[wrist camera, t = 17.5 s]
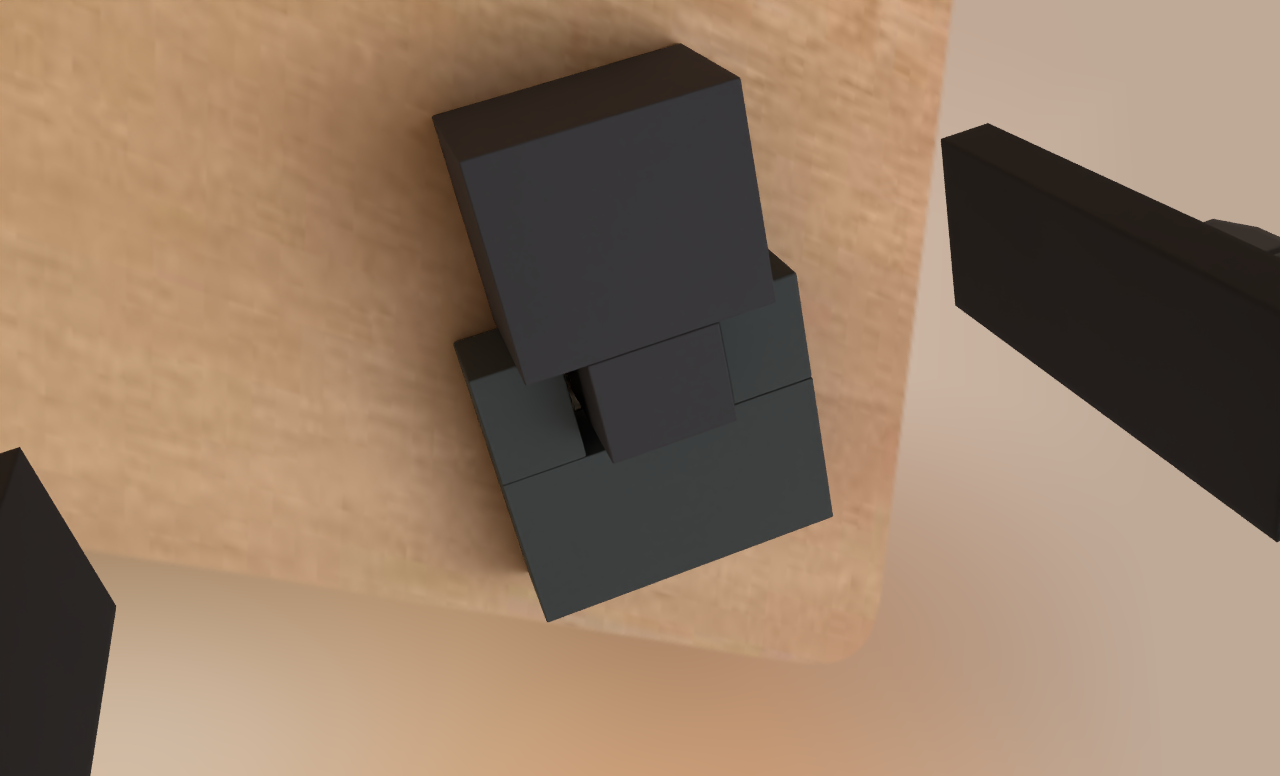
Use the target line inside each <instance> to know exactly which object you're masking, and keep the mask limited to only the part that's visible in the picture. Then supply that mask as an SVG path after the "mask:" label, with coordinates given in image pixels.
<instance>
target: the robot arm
mask: <svg viewBox="0 0 1280 776" xmlns="http://www.w3.org/2000/svg"><path fill="white" fill-rule="evenodd" d="M941 147H942V157H943V170H944V181H945V193H946V204H947V216H948V227H949V238H950V250H951V261H952V273H953V282H954V283H953V284H954V295H955V305H956V306H957V307H958V308H960V309H961V310H963V311H964V312H965V313H966V314H968V315H969V316H971V317H972V318H973V319H975V320H976V321H977V322H979V323H980V324H982V325H983V326H984V327H986V328H987V329H988V330H990V331H991V332H992V333H994V334H995V335H996V336H998V337H999V338H1000V339H1002V340H1003V341H1004V342H1006V343H1007V344H1009V345H1010V346H1011V347H1013V348H1014V349H1015V350H1017V351H1018V352H1019V353H1021V354H1022V355H1023V356H1025V357H1026V358H1028V359H1029V360H1030V361H1032V362H1033V363H1034V364H1036V365H1037V366H1038V367H1040V368H1041V369H1043V370H1044V371H1045V372H1047V373H1048V374H1049V375H1051V376H1052V377H1053V378H1055V379H1056V380H1057V381H1059V382H1060V383H1061V384H1063V385H1064V386H1066V387H1067V388H1068V389H1070V390H1071V391H1072V392H1074V393H1075V394H1076V395H1078V396H1079V397H1080V398H1082V399H1083V400H1084V401H1086V402H1087V403H1089V404H1090V405H1091V406H1093V407H1094V408H1096V409H1097V410H1098V411H1100V412H1101V413H1102V414H1103V415H1105V416H1106V417H1108V418H1109V419H1110V420H1112V421H1113V422H1114V423H1116V424H1117V425H1119V426H1120V427H1121V428H1123V429H1124V430H1125V431H1127V432H1128V433H1129V434H1131V435H1132V436H1133V437H1135V438H1136V439H1137V440H1139V441H1140V442H1142V443H1143V444H1144V445H1146V446H1147V447H1148V448H1150V449H1151V450H1152V451H1154V452H1155V453H1156V454H1158V455H1159V456H1160V457H1162V458H1163V459H1165V460H1166V461H1167V462H1169V463H1170V464H1171V465H1173V466H1174V467H1175V468H1177V469H1178V470H1179V471H1181V472H1182V473H1184V474H1185V475H1186V476H1188V477H1189V478H1190V479H1192V480H1193V481H1194V482H1196V483H1197V484H1199V485H1200V486H1201V487H1203V488H1204V489H1205V490H1207V491H1208V492H1209V493H1211V494H1212V495H1214V496H1215V497H1216V498H1218V499H1219V500H1220V501H1222V502H1223V503H1224V504H1226V505H1227V506H1228V507H1230V508H1231V509H1232V510H1234V511H1235V512H1236V513H1238V514H1239V515H1241V516H1242V517H1243V518H1245V519H1246V520H1247V521H1249V522H1250V523H1252V524H1253V525H1254V526H1255V527H1257V528H1258V529H1260V530H1261V531H1262V532H1264V533H1265V534H1267V535H1268V536H1269V537H1270V538H1272V539H1273V540H1275V541H1276V542H1279V541H1280V237H1279V236H1276V235H1274V234H1272V233H1270V232H1267V231H1265V230H1263V229H1261V228H1258V227H1254V226H1248V225H1243V224H1237V223H1232V222H1227V221H1221V220H1216V219H1211V220H1209V221H1206V222H1202V221H1199V220H1197V219H1195V218H1193V217H1190V216H1188V215H1186V214H1184V213H1182V212H1180V211H1178V210H1175V209H1173V208H1171V207H1169V206H1167V205H1165V204H1162V203H1160V202H1158V201H1156V200H1153V199H1152V198H1149V197H1147V196H1145V195H1143V194H1141V193H1138V192H1136V191H1134V190H1132V189H1130V188H1127V187H1125V186H1123V185H1121V184H1119V183H1117V182H1115V181H1113V180H1110V179H1108V178H1106V177H1104V176H1101V175H1099V174H1097V173H1095V172H1093V171H1091V170H1089V169H1086V168H1084V167H1082V166H1080V165H1078V164H1076V163H1073V162H1071V161H1069V160H1067V159H1065V158H1063V157H1060V156H1058V155H1056V154H1054V153H1051V152H1050V151H1047V150H1045V149H1043V148H1041V147H1039V146H1036V145H1034V144H1032V143H1030V142H1028V141H1026V140H1023V139H1021V138H1019V137H1017V136H1015V135H1013V134H1010V133H1008V132H1006V131H1004V130H1002V129H1000V128H997V127H995V126H993V125H991V124H989V123H987V124H984V125H981V126H978V127H975V128H972V129H969V130H966V131H963V132H961V133H957V134H954V135H951V136H948V137H945V138H942V139H941ZM115 611H116V605H115V603H114V602H113V600H112V598H111V597H110V595H109V594H108V592H107V590H106V589H105V587H104V585H103V584H102V582H101V580H100V579H99V577H98V575H97V574H96V572H95V570H94V569H93V567H92V565H91V564H90V562H89V560H88V559H87V557H86V556H85V554H84V552H83V551H82V549H81V547H80V546H79V544H78V542H77V541H76V539H75V537H74V536H73V534H72V532H71V531H70V529H69V527H68V526H67V524H66V522H65V521H64V519H63V517H62V516H61V514H60V513H59V511H58V509H57V508H56V506H55V504H54V503H53V501H52V499H51V498H50V496H49V494H48V493H47V491H46V489H45V488H44V486H43V484H42V483H41V481H40V480H39V478H38V476H37V475H36V473H35V471H34V470H33V468H32V466H31V465H30V463H29V461H28V460H27V458H26V456H25V455H24V453H23V451H22V450H21V448H20V447H18V448H15V449H12V450H9V451H6V452H3V453H0V776H90V774H91V767H92V761H93V755H94V748H95V742H96V735H97V729H98V721H99V715H100V709H101V702H102V696H103V690H104V683H105V676H106V670H107V663H108V657H109V650H110V644H111V637H112V631H113V624H114V618H115Z"/></svg>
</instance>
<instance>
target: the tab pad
mask: <svg viewBox="0 0 1280 776" xmlns="http://www.w3.org/2000/svg"><path fill="white" fill-rule="evenodd" d="M432 119H433V122H434V126H435V129H436V132H437V135H438V139H439V142H440V145H441V148H442V152H443V155H444V158H445V162H446V165H447V168H448V171H449V175H450V178H451V181H452V185H453V188H454V191H455V194H456V198H457V201H458V204H459V207H460V211H461V214H462V217H463V221H464V224H465V227H466V230H467V234H468V237H469V240H470V244H471V247H472V250H473V253H474V257H475V260H476V263H477V266H478V270H479V273H480V276H481V280H482V283H483V286H484V289H485V293H486V296H487V299H488V303H489V306H490V309H491V312H492V316H493V319H494V321H495V323H496V325H497V327H498V330H499V332H500V334H501V336H502V338H503V340H504V342H505V344H506V346H507V348H508V350H509V353H510V355H511V357H512V359H513V361H514V363H515V365H516V367H517V369H518V371H519V373H520V376H521V378H522V380H523V382H524V384H525V385H526V386H528V385H531V384H534V383H537V382H540V381H543V380H546V379H549V378H552V377H555V376H558V375H561V374H564V373H567V372H568V374H569V377H570V381H571V385H572V388H573V392H574V394H575V396H576V398H577V400H578V401H579V403H580V405H581V407H582V409H583V410H584V412H585V414H586V416H587V418H588V419H589V421H590V423H591V425H592V427H593V429H594V430H595V432H596V434H597V436H598V438H599V439H600V441H601V443H602V445H603V447H604V448H605V450H606V452H607V454H608V456H609V458H610V459H611V461H612V463H613V464H616V463H619V462H622V461H624V460H627V459H630V458H633V457H636V456H639V455H641V454H644V453H647V452H650V451H653V450H656V449H659V448H661V447H664V446H667V445H670V444H673V443H676V442H678V441H681V440H684V439H687V438H690V437H693V436H696V435H698V434H701V433H704V432H707V431H710V430H713V429H715V428H718V427H721V426H724V425H727V424H730V423H733V422H735V421H737V415H736V410H735V405H734V400H733V395H732V389H731V384H730V379H729V374H728V369H727V363H726V358H725V353H724V348H723V343H722V337H721V332H720V327H719V323H718V322H719V321H722V320H725V319H728V318H731V317H734V316H737V315H740V314H743V313H746V312H749V311H752V310H755V309H758V308H761V307H764V306H767V305H770V304H773V303H775V302H776V296H775V290H774V284H773V277H772V271H771V265H770V259H769V253H768V246H767V240H766V234H765V228H764V222H763V215H762V209H761V203H760V197H759V191H758V184H757V178H756V172H755V166H754V160H753V154H752V147H751V141H750V135H749V129H748V123H747V116H746V110H745V104H744V98H743V92H742V85H741V79H740V77H738V76H736V75H735V74H733V73H731V72H729V71H728V70H726V69H724V68H722V67H721V66H719V65H717V64H716V63H714V62H712V61H710V60H709V59H707V58H705V57H704V56H702V55H700V54H698V53H697V52H695V51H693V50H692V49H690V48H688V47H686V46H685V45H683V44H677V45H673V46H670V47H666V48H663V49H659V50H656V51H653V52H649V53H646V54H642V55H639V56H636V57H632V58H629V59H625V60H622V61H619V62H615V63H612V64H608V65H605V66H601V67H598V68H595V69H591V70H588V71H584V72H581V73H578V74H574V75H571V76H567V77H564V78H560V79H557V80H554V81H550V82H547V83H543V84H540V85H537V86H533V87H530V88H526V89H523V90H520V91H516V92H513V93H509V94H506V95H502V96H499V97H496V98H492V99H489V100H485V101H482V102H479V103H475V104H472V105H468V106H465V107H462V108H458V109H455V110H451V111H448V112H444V113H441V114H438V115H434V116H433V117H432Z"/></svg>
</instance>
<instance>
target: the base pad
mask: <svg viewBox="0 0 1280 776" xmlns="http://www.w3.org/2000/svg"><path fill="white" fill-rule="evenodd" d="M768 253H769V259H770V265H771V271H772V277H773V284H774V290H775V296H776V302H775V303H773V304H770V305H767V306H764V307H761V308H758V309H755V310H752V311H749V312H746V313H743V314H740V315H737V316H734V317H731V318H728V319H725V320H722V321H719V322H718V323H719V327H720V332H721V337H722V343H723V348H724V353H725V358H726V363H727V369H728V374H729V379H730V384H731V389H732V395H733V400H734V405H735V410H736V415H737V421H735V422H733V423H730V424H727V425H724V426H721V427H718V428H715V429H713V430H710V431H707V432H704V433H701V434H698V435H696V436H693V437H690V438H687V439H684V440H681V441H678V442H676V443H673V444H670V445H667V446H664V447H661V448H659V449H656V450H653V451H650V452H647V453H644V454H641V455H639V456H636V457H633V458H630V459H627V460H624V461H622V462H619V463H616V464H613V463H612V461H611V459H610V458H609V456H608V454H607V452H606V450H605V448H604V447H603V445H602V443H601V441H600V439H599V438H598V436H597V434H596V432H595V430H594V429H593V427H592V425H591V423H590V421H589V419H588V418H587V416H586V414H585V412H584V410H583V409H582V410H579V411H576V412H574V409H573V406H572V402H571V398H570V395H569V391H568V388H567V384H566V380H565V377H564V374H561V375H558V376H555V377H552V378H549V379H546V380H543V381H540V382H537V383H534V384H531V385H528V386H526V385H525V384H524V382H523V380H522V378H521V376H520V373H519V371H518V369H517V367H516V365H515V363H514V361H513V359H512V357H511V355H510V353H509V350H508V348H507V346H506V344H505V342H504V340H503V338H502V336H501V334H500V332H499V330H498V328H497V329H494V330H491V331H487V332H484V333H481V334H478V335H475V336H472V337H469V338H466V339H463V340H460V341H457V342H454V344H453V345H454V348H455V351H456V354H457V357H458V360H459V363H460V366H461V369H462V372H463V375H464V378H465V381H466V384H467V387H468V390H469V393H470V396H471V399H472V402H473V405H474V408H475V411H476V414H477V417H478V420H479V423H480V427H481V430H482V433H483V436H484V439H485V442H486V445H487V448H488V451H489V454H490V457H491V460H492V463H493V466H494V469H495V472H496V475H497V478H498V481H499V484H500V487H501V490H502V493H503V496H504V499H505V502H506V505H507V508H508V511H509V514H510V517H511V520H512V524H513V527H514V530H515V533H516V536H517V539H518V542H519V545H520V548H521V551H522V554H523V557H524V560H525V563H526V566H527V569H528V572H529V575H530V578H531V580H532V583H533V586H534V588H535V591H536V594H537V596H538V599H539V602H540V605H541V607H542V610H543V613H544V615H545V618H546V621H547V622H551V621H553V620H556V619H559V618H561V617H564V616H567V615H569V614H572V613H575V612H577V611H580V610H583V609H585V608H588V607H591V606H594V605H596V604H599V603H602V602H604V601H607V600H610V599H612V598H615V597H618V596H620V595H623V594H626V593H629V592H631V591H634V590H637V589H639V588H642V587H645V586H647V585H650V584H653V583H655V582H658V581H661V580H663V579H666V578H669V577H672V576H674V575H677V574H680V573H682V572H685V571H688V570H690V569H693V568H696V567H698V566H701V565H704V564H707V563H709V562H712V561H715V560H717V559H720V558H723V557H725V556H728V555H731V554H733V553H736V552H739V551H742V550H744V549H747V548H750V547H752V546H755V545H758V544H760V543H763V542H766V541H768V540H771V539H774V538H776V537H779V536H782V535H785V534H787V533H790V532H793V531H795V530H798V529H801V528H803V527H806V526H809V525H811V524H814V523H817V522H820V521H822V520H825V519H828V518H830V517H833V513H832V506H831V499H830V493H829V486H828V479H827V473H826V466H825V459H824V453H823V446H822V439H821V433H820V426H819V419H818V412H817V406H816V399H815V392H814V386H813V379H812V377H811V369H810V362H809V356H808V349H807V342H806V336H805V329H804V322H803V316H802V309H801V302H800V296H799V289H798V282H797V276H796V273H795V272H794V271H793V270H792V269H791V268H790V267H788V266H787V265H786V264H785V263H784V262H783V261H781V260H780V259H779V258H778V257H777V256H776V255H775V254H773V253H772V252H771V251H770V250H769V249H768Z"/></svg>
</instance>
